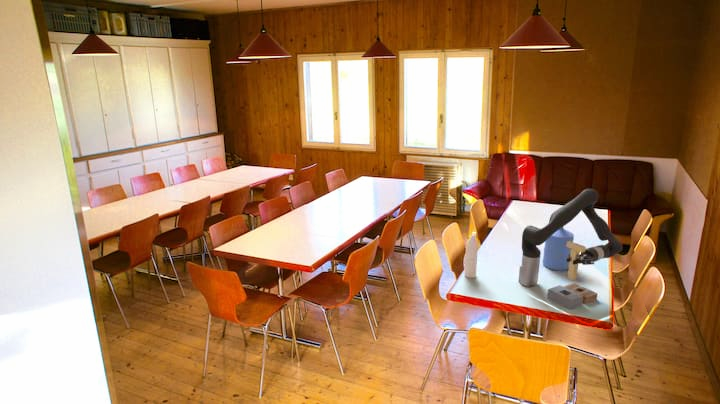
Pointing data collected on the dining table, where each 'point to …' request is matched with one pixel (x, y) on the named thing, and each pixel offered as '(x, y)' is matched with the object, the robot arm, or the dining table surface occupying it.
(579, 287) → the block
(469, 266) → the water bottle
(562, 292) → the block
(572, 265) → the t key
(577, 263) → the robot arm
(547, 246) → the water jug
